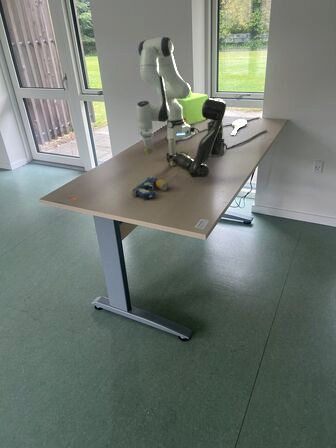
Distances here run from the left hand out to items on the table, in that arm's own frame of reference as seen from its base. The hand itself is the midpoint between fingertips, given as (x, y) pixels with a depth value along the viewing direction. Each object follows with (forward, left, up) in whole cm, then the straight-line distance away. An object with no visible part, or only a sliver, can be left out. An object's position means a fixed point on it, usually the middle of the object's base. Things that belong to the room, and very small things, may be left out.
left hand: (148, 152), depth 208 cm
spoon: (-85, +10, -6) cm, 86 cm away
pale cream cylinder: (-4, +17, -6) cm, 19 cm away
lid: (0, 0, +2) cm, 2 cm away
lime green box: (-89, -40, -6) cm, 97 cm away
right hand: (-5, +15, 0) cm, 16 cm away
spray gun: (+30, +32, -6) cm, 45 cm away
